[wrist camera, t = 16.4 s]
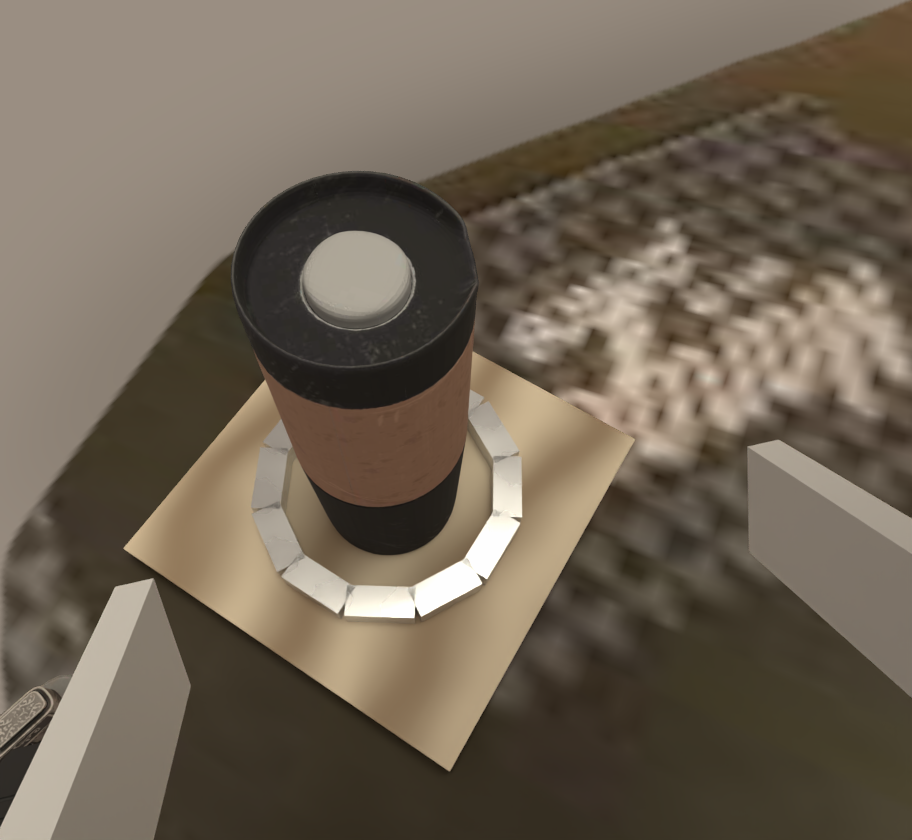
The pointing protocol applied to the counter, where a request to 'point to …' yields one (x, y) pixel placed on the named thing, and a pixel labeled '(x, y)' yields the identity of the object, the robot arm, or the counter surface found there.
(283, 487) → the dock collar
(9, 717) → the lighter
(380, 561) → the dock board
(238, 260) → the travel mug
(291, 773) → the counter surface
